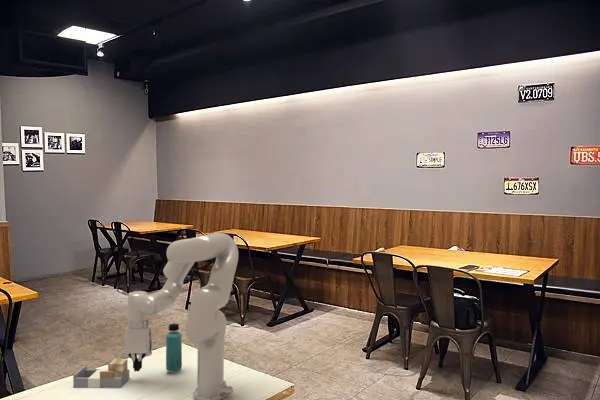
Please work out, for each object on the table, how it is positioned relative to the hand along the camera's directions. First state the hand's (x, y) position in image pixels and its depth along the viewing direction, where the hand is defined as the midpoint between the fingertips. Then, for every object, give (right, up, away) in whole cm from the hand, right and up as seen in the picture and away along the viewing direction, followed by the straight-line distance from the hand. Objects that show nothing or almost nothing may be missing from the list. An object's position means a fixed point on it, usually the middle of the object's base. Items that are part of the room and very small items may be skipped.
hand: (137, 370), depth 181 cm
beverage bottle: (+11, -5, +11) cm, 16 cm away
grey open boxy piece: (-14, -5, 0) cm, 15 cm away
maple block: (-7, -2, 0) cm, 7 cm away
